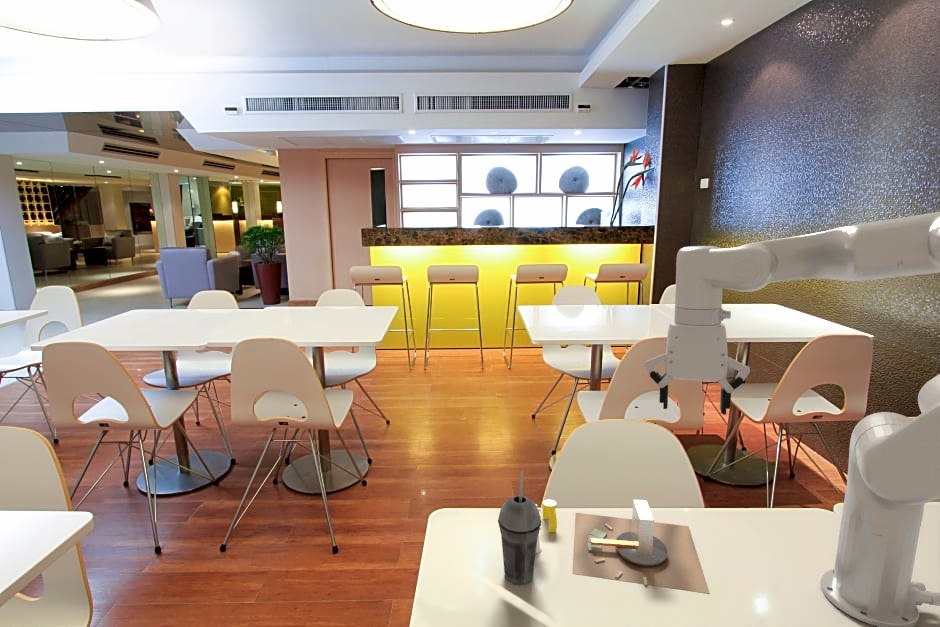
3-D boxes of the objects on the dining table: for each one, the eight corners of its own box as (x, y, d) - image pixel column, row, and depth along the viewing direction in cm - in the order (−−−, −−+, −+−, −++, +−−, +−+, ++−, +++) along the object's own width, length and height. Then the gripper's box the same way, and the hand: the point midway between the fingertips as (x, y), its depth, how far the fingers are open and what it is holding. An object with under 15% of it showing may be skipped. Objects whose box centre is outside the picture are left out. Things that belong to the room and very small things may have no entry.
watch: (560, 538, 100) (560, 511, 99) (546, 539, 100) (546, 512, 98) (552, 521, 106) (552, 494, 105) (538, 522, 105) (539, 495, 104)
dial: (660, 537, 98) (663, 497, 96) (672, 569, 89) (675, 526, 87) (588, 532, 99) (590, 493, 98) (593, 562, 91) (594, 520, 89)
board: (688, 531, 102) (688, 524, 102) (709, 601, 83) (710, 593, 83) (575, 517, 107) (575, 510, 106) (572, 581, 88) (572, 572, 88)
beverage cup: (492, 590, 86) (492, 480, 82) (504, 563, 93) (505, 461, 89) (534, 601, 84) (537, 488, 80) (543, 572, 90) (546, 467, 87)
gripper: (749, 314, 90) (744, 407, 93) (646, 311, 97) (644, 398, 100) (756, 322, 84) (750, 421, 86) (644, 318, 90) (642, 411, 93)
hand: (693, 409), depth 93 cm, fingers open, 9 cm apart
